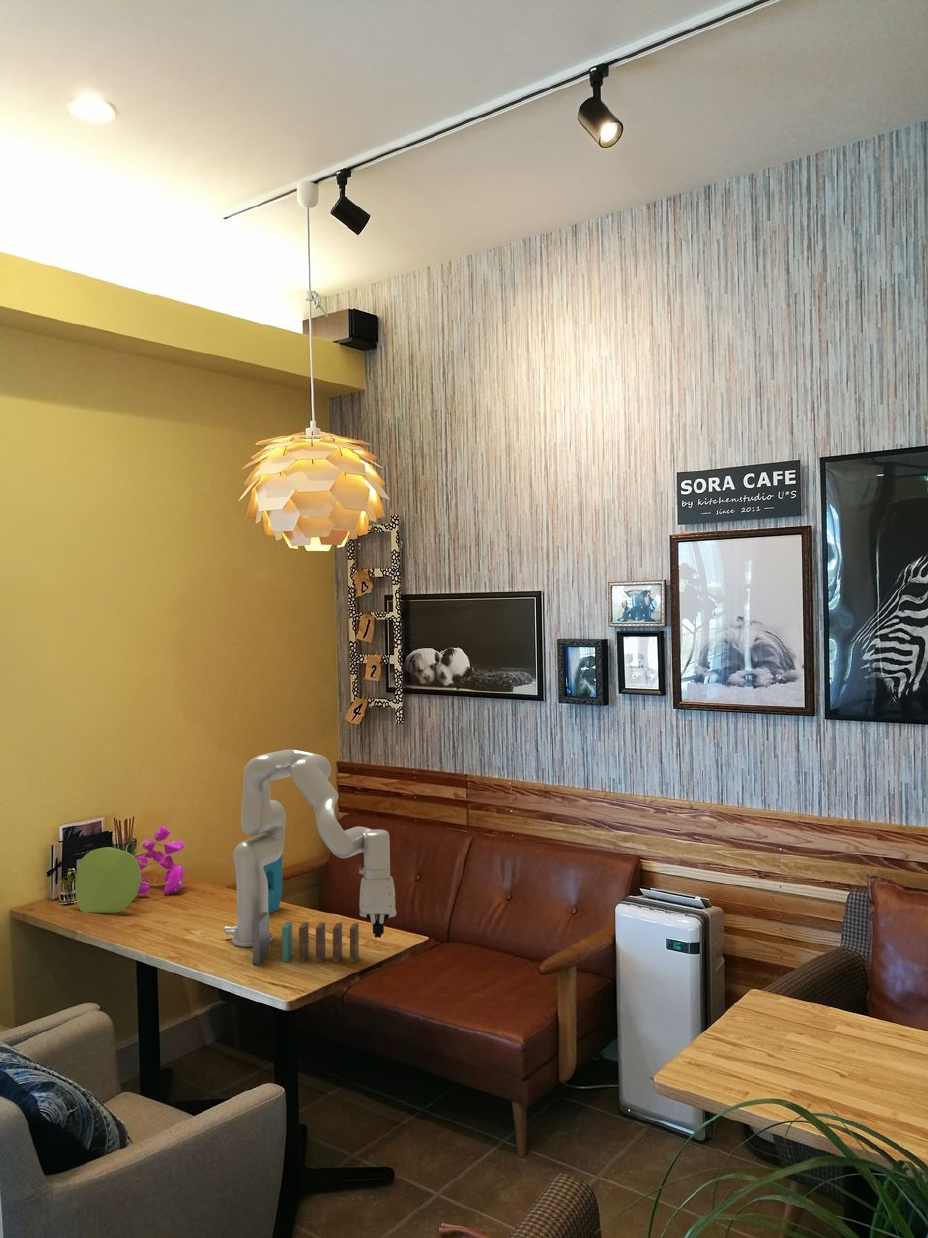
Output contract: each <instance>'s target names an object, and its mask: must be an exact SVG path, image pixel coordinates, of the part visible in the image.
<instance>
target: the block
mask: <svg viewBox="0 0 928 1238" xmlns="http://www.w3.org/2000/svg"><path fill="white" fill-rule="evenodd" d="M263 869H264V872H265V874H266V877H267V881H268V912H269V914H271V913H273V912H274V913H275V912H277V911H279V910H280V905H281V900H282V894H283V854H282V855H281V856H280V858H279V859H278V860H277V861H275V862H273V863H270V864H268V865H265V866H264V867H263Z"/></svg>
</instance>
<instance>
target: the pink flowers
mask: <svg viewBox="0 0 928 1238" xmlns="http://www.w3.org/2000/svg"><path fill="white" fill-rule="evenodd" d="M170 834H171V831H170V830H169V829H168V828H167V826H164V825H161V826H160V828H158V829H157V830H156V832H155V833H153V836H150V837H148V838H144V840H143V841H142V842H140V843H137V842H129V843H128V844H127V845H126V847H125V851H124V850H121V849H119V848H114V847H110V846H109V847H108V846H107V847H101V848H96V849H93V850H90V851H89V852H87V853H86V854H85V855H84V856H83V857H82V858H81V860H80V861H79V863H78V866H77V870H76V876H75V884H74V885H75V889H74V892H75V898H76V903H77V906H78V909H79V910H80V912H83V913H91V914H92V913H93V914H96V913H97V914H115V913H119V912H121V911H123V910H124V909H126V908H128V906H129V905H130V904H131V903H132V902H133V901H134V900H135V898H136V897H137V895H138V894H141V895H142V894H143V895H144V894H146V893H147V894H148V893H150V892H149V891H150V890H151V888H152V887H161V886H162V887H163V886H165V887H164V890H163V893H164V894H166V895H167V896H169V895H170V894H175V893H177V892H178V891H180V890H181V888H182V887H183V883H184V874H185V872H184V871H185V870H184V866H183V865H180V864H175V862H174V859H173V856H172V854H175V853H180V851H181V850H183V849H184V848H185V847H186V845H185V842H184V841H183V840H173V841H171V842H170V841H168V842H164V843H163V844H162V845H161V844H160V842H162V841H165V840H167V839H168V837H169V836H170ZM153 838H154V840H155V841H154V840H152V839H153ZM157 842H158V843H157ZM131 844H132V845H133V844H134V845H135V844H136V845H137V846H136V847H135V848H134V850H133V852H132V854H131V853H130V852H128V847H129V845H131ZM156 845H158V846H161V847H162V850H164V853H163V852H162V851H156V850H155V849H154V848H155V847H156ZM141 846H142V849H144V850H145V851H146V852H139V853H137V851H138V849H140V847H141ZM166 855H167V856H166ZM148 859H151V860H153V861H152V862H151V863H149V861H148ZM157 864H159V865H160V866H161V868H164V869H165V870H167V871H166V873H165V874H164V875H163V878H164V883H157V884H156V881H157V879H158V878H160V877H161V875H159V876H157V877H156V878H155V880H154V881H153V883H150V882H149V880H148V878H147V877H142V872H141V871H143V870H144V869H145V868H147V866H150V865H151V866H153V865H157Z"/></svg>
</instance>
